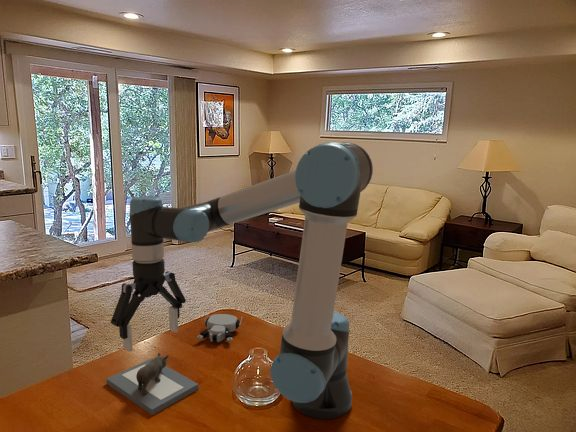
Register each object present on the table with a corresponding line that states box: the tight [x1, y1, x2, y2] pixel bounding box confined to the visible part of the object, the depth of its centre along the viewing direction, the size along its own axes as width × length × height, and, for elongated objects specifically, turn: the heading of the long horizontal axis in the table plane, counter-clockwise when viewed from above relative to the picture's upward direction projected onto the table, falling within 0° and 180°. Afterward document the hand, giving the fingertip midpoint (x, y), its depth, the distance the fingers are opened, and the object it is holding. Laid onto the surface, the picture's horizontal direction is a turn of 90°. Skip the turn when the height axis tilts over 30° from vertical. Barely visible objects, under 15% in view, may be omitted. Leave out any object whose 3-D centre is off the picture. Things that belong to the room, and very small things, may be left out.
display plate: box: [105, 357, 199, 416], centre depth 114 cm, size 20×14×2 cm
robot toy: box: [197, 313, 243, 343], centre depth 144 cm, size 12×4×15 cm
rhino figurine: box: [136, 352, 169, 395], centre depth 113 cm, size 4×14×6 cm, turn 166°
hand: (152, 339), depth 111 cm, fingers open, 13 cm apart
